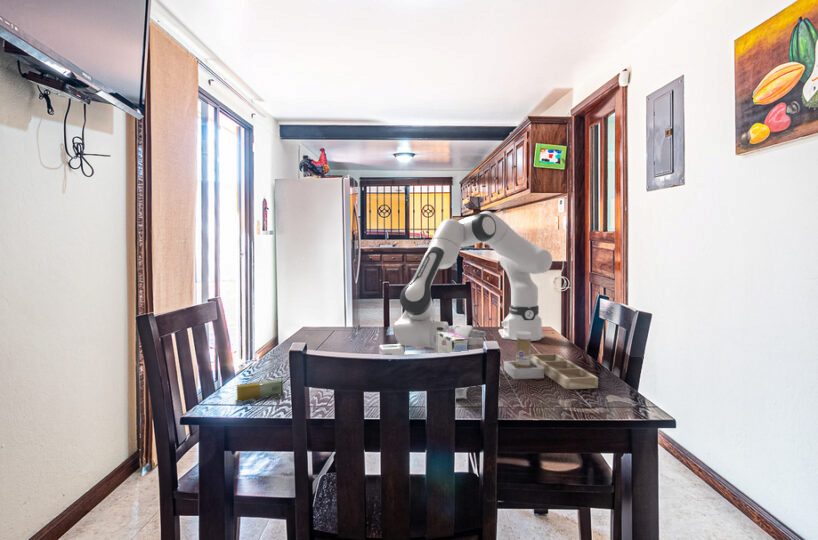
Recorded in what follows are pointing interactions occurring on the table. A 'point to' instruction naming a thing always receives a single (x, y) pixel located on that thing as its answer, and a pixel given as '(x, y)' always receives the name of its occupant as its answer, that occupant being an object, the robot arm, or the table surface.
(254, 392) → the medication box
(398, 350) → the syrup box
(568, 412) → the table surface
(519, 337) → the sprinkles bottle
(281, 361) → the table surface
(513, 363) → the socket block
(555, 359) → the wooden compartment tray
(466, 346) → the candy bar box
